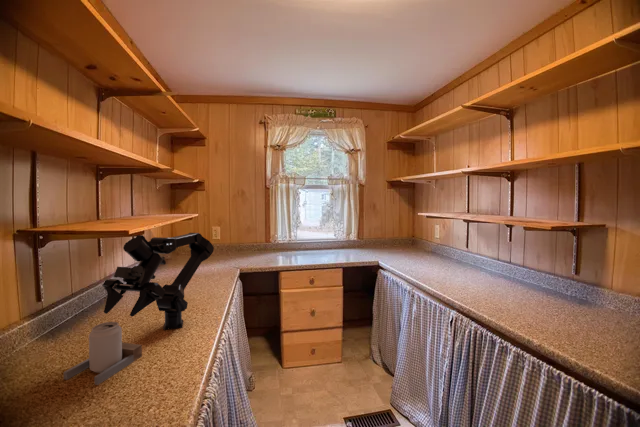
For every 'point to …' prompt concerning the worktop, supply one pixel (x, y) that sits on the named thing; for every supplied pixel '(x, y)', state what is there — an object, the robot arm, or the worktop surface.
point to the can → (105, 346)
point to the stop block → (131, 350)
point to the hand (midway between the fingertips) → (117, 314)
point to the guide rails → (101, 376)
